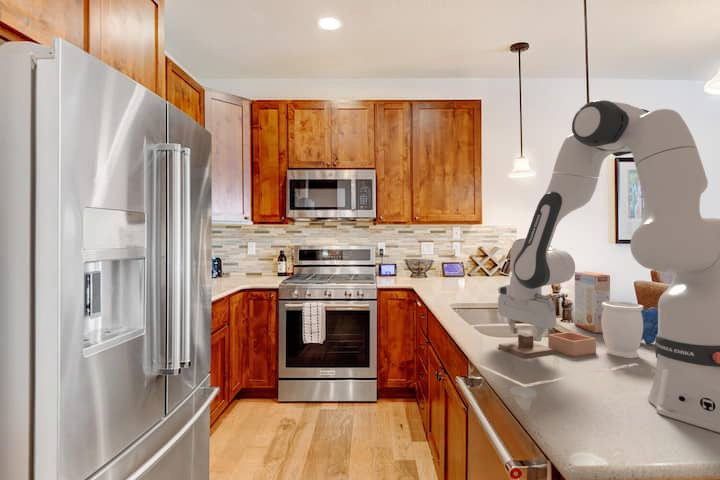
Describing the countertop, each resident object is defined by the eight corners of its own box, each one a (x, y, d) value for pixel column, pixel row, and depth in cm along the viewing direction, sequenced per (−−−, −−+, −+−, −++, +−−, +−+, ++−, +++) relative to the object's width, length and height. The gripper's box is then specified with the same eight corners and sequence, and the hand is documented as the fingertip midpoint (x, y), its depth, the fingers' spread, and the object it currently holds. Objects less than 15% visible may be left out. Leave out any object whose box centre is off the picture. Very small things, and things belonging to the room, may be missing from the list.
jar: (650, 361, 115) (650, 307, 114) (609, 359, 117) (609, 306, 116) (633, 350, 125) (633, 301, 125) (595, 348, 127) (596, 300, 127)
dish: (596, 355, 120) (596, 338, 120) (573, 359, 117) (573, 341, 117) (569, 347, 129) (569, 331, 128) (548, 350, 125) (548, 334, 125)
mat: (556, 355, 120) (556, 353, 120) (525, 360, 116) (525, 358, 116) (526, 345, 131) (526, 343, 131) (496, 349, 127) (496, 347, 127)
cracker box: (610, 333, 146) (611, 274, 145) (593, 333, 146) (593, 275, 145) (589, 324, 160) (589, 271, 159) (573, 324, 160) (573, 271, 159)
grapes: (671, 343, 132) (672, 306, 132) (670, 348, 127) (670, 309, 126) (629, 338, 139) (629, 302, 139) (625, 342, 134) (625, 305, 134)
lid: (554, 353, 121) (554, 337, 121) (525, 357, 116) (525, 341, 116) (526, 344, 131) (526, 329, 131) (498, 347, 127) (498, 332, 127)
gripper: (562, 296, 115) (561, 344, 116) (509, 286, 134) (509, 328, 135) (545, 297, 113) (544, 347, 113) (494, 287, 132) (494, 330, 132)
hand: (525, 336), depth 124 cm, fingers open, 8 cm apart
